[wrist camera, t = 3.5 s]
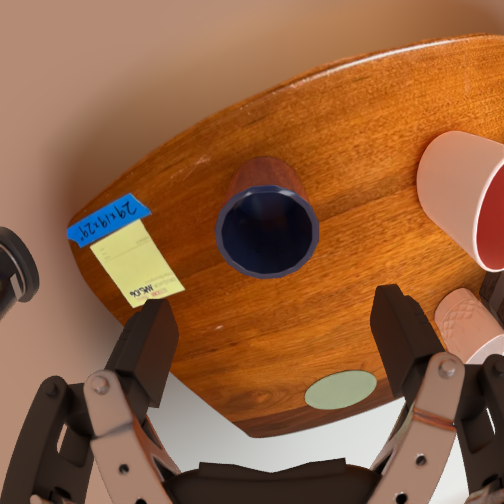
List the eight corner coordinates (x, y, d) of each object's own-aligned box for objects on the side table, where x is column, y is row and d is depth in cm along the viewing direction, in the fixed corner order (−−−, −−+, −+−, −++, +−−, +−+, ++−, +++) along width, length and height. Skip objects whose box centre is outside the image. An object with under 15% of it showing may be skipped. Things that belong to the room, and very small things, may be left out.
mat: (303, 411, 43) (303, 412, 42) (306, 375, 37) (306, 376, 37) (367, 402, 42) (367, 403, 42) (383, 364, 36) (384, 365, 36)
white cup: (470, 315, 31) (499, 362, 23) (428, 335, 33) (454, 388, 24) (476, 275, 28) (515, 324, 19) (431, 296, 29) (466, 354, 21)
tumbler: (235, 224, 26) (223, 281, 18) (226, 159, 23) (207, 190, 15) (300, 219, 25) (318, 275, 17) (297, 154, 22) (318, 181, 14)
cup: (398, 209, 24) (453, 264, 15) (425, 113, 19) (499, 129, 10) (463, 229, 25) (515, 278, 16) (489, 149, 20) (553, 179, 11)
